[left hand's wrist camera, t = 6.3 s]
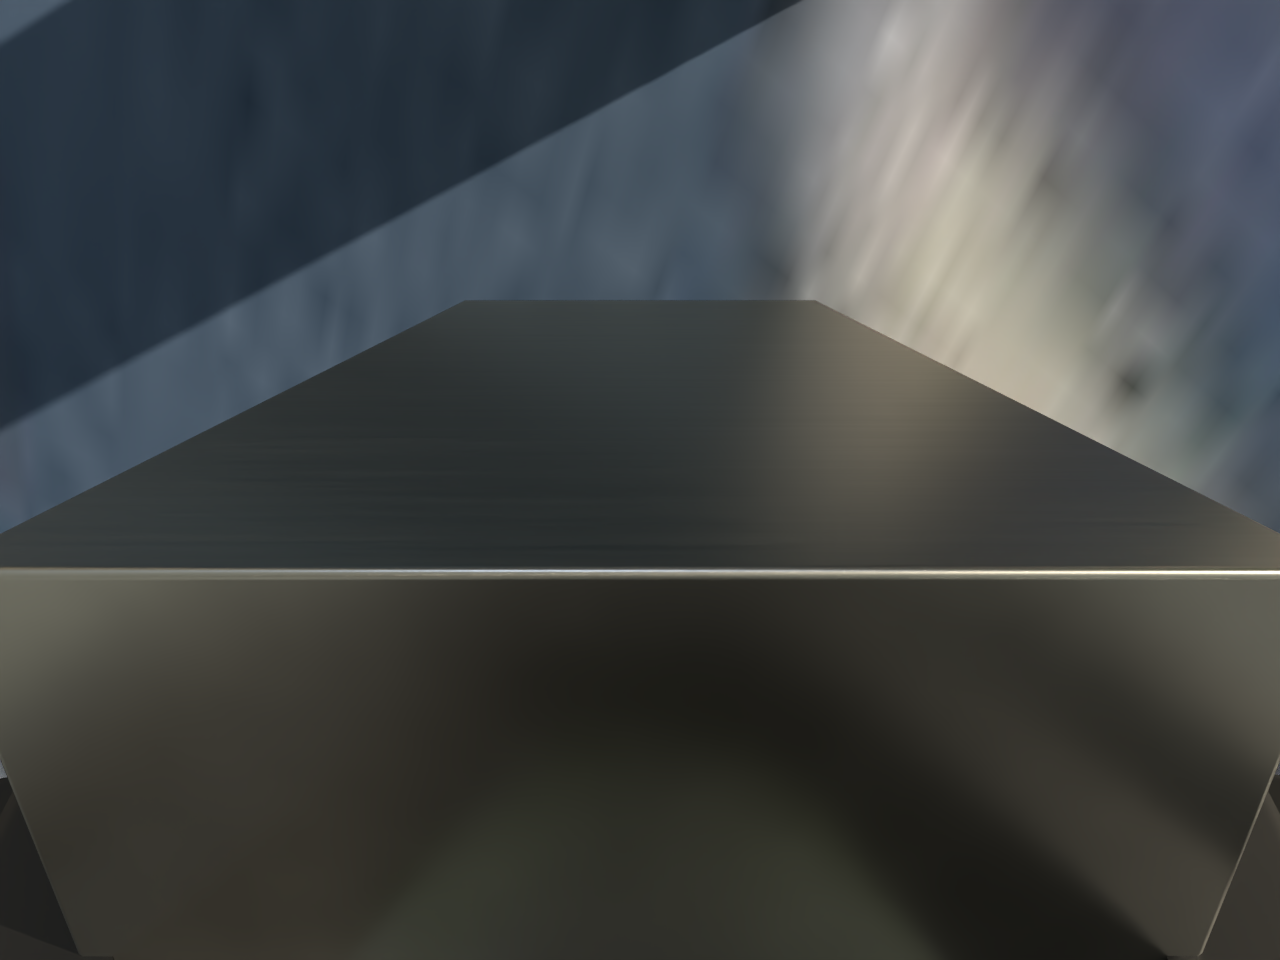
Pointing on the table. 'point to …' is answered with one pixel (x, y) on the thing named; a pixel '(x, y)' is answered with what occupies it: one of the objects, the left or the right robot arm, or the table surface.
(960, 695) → the box
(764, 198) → the table surface
